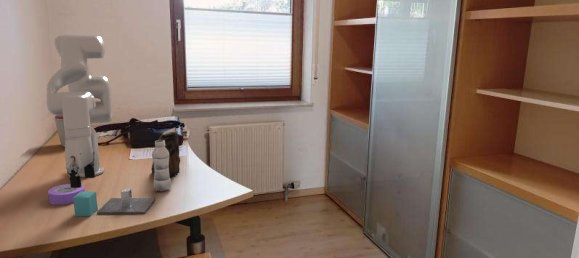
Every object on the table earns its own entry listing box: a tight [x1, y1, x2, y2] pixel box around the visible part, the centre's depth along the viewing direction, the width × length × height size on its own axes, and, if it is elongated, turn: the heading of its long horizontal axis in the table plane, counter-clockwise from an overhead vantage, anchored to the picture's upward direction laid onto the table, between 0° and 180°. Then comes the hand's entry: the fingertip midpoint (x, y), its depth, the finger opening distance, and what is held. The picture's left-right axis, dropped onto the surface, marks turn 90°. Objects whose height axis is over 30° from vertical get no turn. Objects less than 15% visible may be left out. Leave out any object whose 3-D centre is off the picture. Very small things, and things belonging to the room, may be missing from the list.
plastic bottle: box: [151, 139, 172, 192], centre depth 155 cm, size 6×7×20 cm
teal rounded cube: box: [73, 191, 99, 217], centre depth 136 cm, size 5×5×7 cm
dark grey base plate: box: [96, 188, 156, 215], centre depth 141 cm, size 16×12×6 cm
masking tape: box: [47, 183, 86, 205], centre depth 148 cm, size 12×12×4 cm
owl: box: [151, 127, 181, 179], centre depth 174 cm, size 13×13×20 cm
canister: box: [52, 115, 66, 148], centre depth 217 cm, size 18×18×21 cm
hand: (83, 182), depth 134 cm, fingers open, 9 cm apart
